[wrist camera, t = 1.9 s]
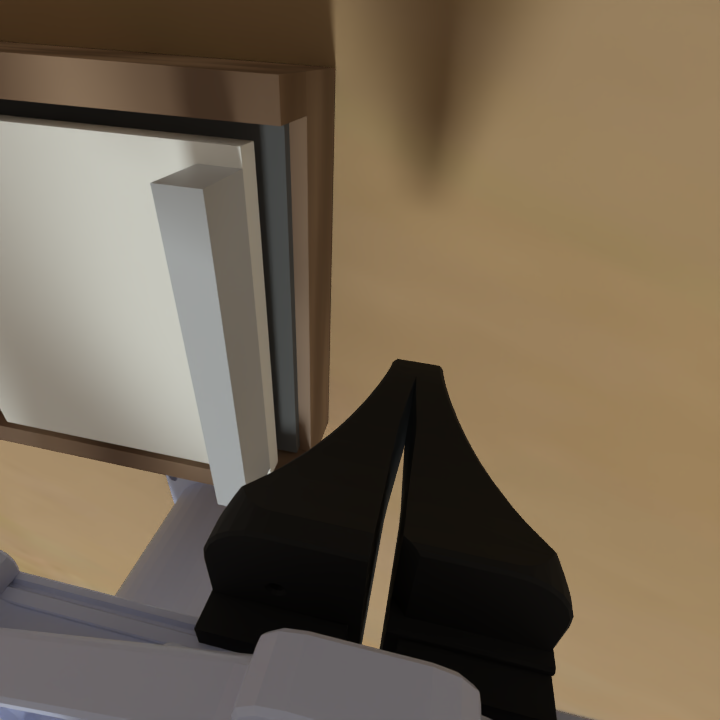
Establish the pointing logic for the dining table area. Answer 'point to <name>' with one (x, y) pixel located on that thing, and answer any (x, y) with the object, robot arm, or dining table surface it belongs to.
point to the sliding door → (136, 293)
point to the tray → (216, 102)
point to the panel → (273, 227)
